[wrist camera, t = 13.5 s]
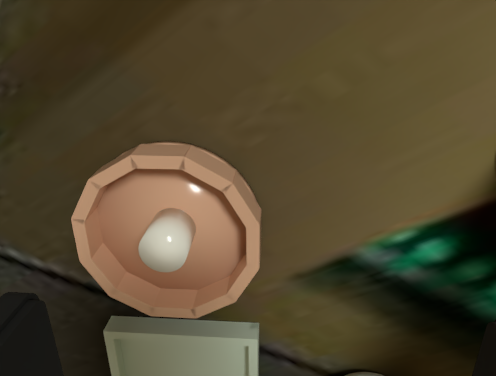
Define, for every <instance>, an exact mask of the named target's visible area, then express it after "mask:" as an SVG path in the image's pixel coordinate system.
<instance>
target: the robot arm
mask: <svg viewBox="0 0 496 376" xmlns="http://www.w3.org/2000/svg"><path fill="white" fill-rule="evenodd" d="M0 376H64V375H63V371H62V367H61V363H60V359H59V355H58V351H57V348H56V344H55V340H54V336H53V332H52V328H51V324H50V320H49V316H48V312H47V308H46V305H45V303H44V302H43V301H41V300H39V298H38V296H37V295H36V294H33V293H17V292H8V293H5V294H4V295H2V296H1V297H0ZM472 376H496V320H495V322H489V323H488V324H487V327H486V330H485V333H484V337H483V340H482V343H481V347H480V350H479V354H478V357H477V361H476V364H475V367H474V371H473V374H472Z"/></svg>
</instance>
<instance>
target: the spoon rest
mask: <svg viewBox="0 0 496 376" xmlns="http://www.w3.org/2000/svg"><path fill="white" fill-rule="evenodd" d="M345 376H384V375H381V374H377V373H372V372H356V373H351V374H348V375H345Z"/></svg>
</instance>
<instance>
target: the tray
mask: <svg viewBox="0 0 496 376" xmlns="http://www.w3.org/2000/svg"><path fill="white" fill-rule="evenodd" d="M103 333H104V339H105V344H106V349H107V354H108V359H109V365H110V370H111V375H112V376H259V323H248V322H228V321H208V320H188V319H167V318H147V317H127V316H111V318H110V319H109V321H108V323H107V325H106V327H105V329H104V331H103Z"/></svg>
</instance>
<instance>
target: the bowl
mask: <svg viewBox="0 0 496 376" xmlns="http://www.w3.org/2000/svg"><path fill="white" fill-rule="evenodd" d="M166 208H176V209H180V210H182V211H184V212H186V213H187V214H189V215H190V216H191V218H192V219H193V221H194V223H195V226H196V233H195V236H194V239H193V242H192V244H191V247H190V250H189V253H188V255H187V258H186V261H185V263H184V264H183V266H182V267H181V268H179V269H178V270H176V271H173V272H159V271H155V270H153V269H151V268H150V267H148V266H147V265H146V264H145V263H144V262H143V261H142V259H141V257H140V255H139V250H138V248H139V243H140V241H141V239H142V237H143V236H144V234H145V232H146V230H147V229H148V227H149V225H150V223H151V222H152V220H153V218H154V217H155V215H156V214H157V213H158V212H159V211H161V210H163V209H166ZM71 221H72V226H73V231H74V236H75V241H76V246H77V251H78V256H79V261H80V262H81V264H82V265H83V266H84V267H85V268H86V269H87V271H88V272H89V273H90V274H91V275H92V277H93V278H94V279H95V280H96V281H97V282H98V284H99V285H100V286H101V287H102V288H103V290H104V291H105V292H106V293H107V294H108V295H110V297H112V298H114V299H116V300H118V301H120V302H122V303H124V304H127V305H129V306H131V307H133V308H135V309H137V310H139V311H141V312H143V313H145V314H147V315H149V316H156V317H176V318H199V317H201V316H203V315H206V314H208V313H210V312H213V311H215V310H217V309H220V308H222V307H225V306H227V305H229V304H232V303H234V302H236V300H237V299H238V298H239V296H240V295H241V294H242V292H243V291H244V289H245V288H246V287H247V285H248V284H249V282H250V281H251V280H252V278H253V277H254V275H255V274H256V273H257V271H258V270H259V267H260V257H261V228H262V223H261V208H260V207H259V205H258V202H257V199H256V197H255V194H254V193H253V191H252V189H251V187H250V185H249V184H248V183H247V181H246V180H245V178H244V177H243V176H242V175H241V174H240V173H239V172H238V170H237V169H236V168H235V167H233V166H232V165H231V164H230V163H229V162H227V161H226V160H225V159H223V158H222V157H220V156H218V155H217V154H215V153H213V152H211V151H209V150H207V149H205V148H202V147H199V146H196V145H193V144H188V143H184V142H175V141H157V142H151V143H146V144H140V145H138V146H136V147H134V148H132V149H130V150H127V151H125V152H124V153H122V154H121V155H119V156H118V157H116V158H115V159H114V160H112V161H111V162H109V163H107V164H106V165H104V166H102V167H101V168H100V169H99V170H98V171H97V172H96V173H95V174H94V175H93V176H91V177H90V178H89V179H88V181H87V184H86V186H85V188H84V191H83V193H82V195H81V197H80V200H79V202H78V204H77V206H76V209H75V211H74V213H73V215H72V218H71Z"/></svg>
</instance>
